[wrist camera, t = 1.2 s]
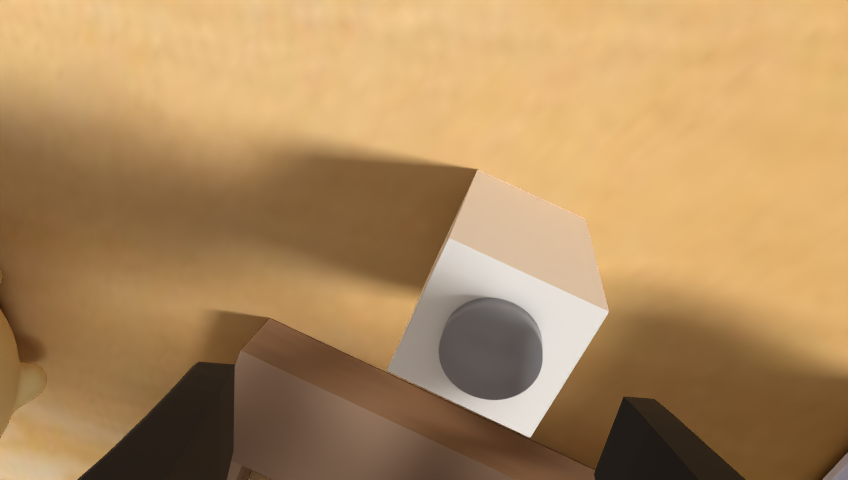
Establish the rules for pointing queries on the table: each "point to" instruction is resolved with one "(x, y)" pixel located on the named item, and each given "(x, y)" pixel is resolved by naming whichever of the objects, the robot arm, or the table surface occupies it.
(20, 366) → the toy pig
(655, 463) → the robot arm
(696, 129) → the table surface
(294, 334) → the socket board
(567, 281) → the plug
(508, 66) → the table surface
